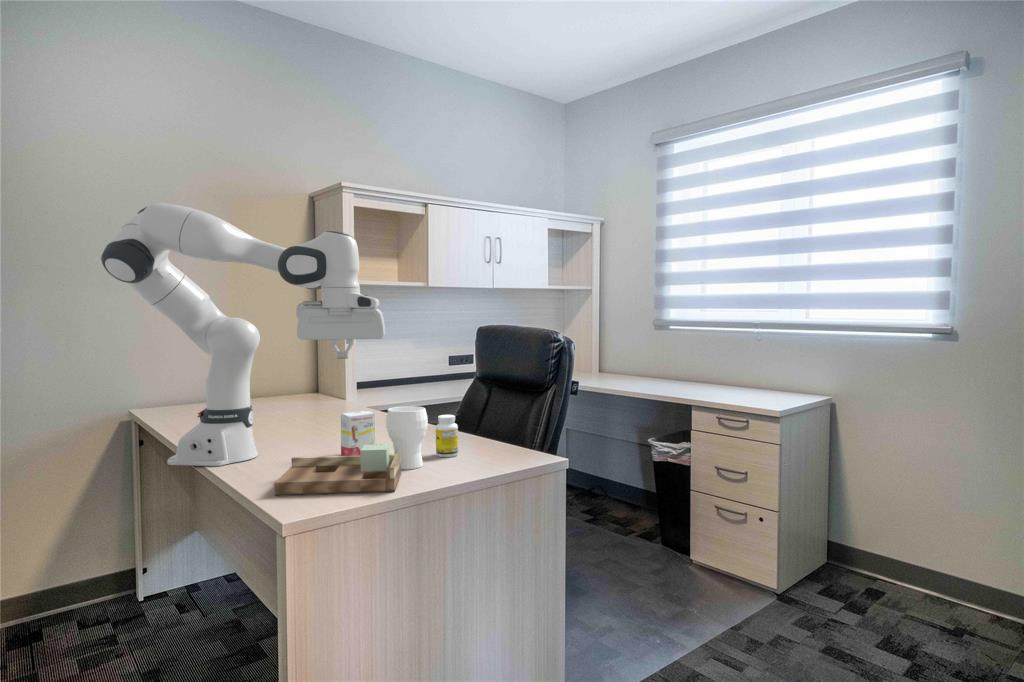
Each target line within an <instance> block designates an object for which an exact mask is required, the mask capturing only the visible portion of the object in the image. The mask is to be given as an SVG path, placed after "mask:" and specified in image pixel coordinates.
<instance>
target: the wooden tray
mask: <svg viewBox="0 0 1024 682" xmlns="http://www.w3.org/2000/svg"><path fill="white" fill-rule="evenodd" d="M389 463H390V464H389V467H388V469H387V471H363V472H361V459H360V455H359V456H342V455H335V456H333V455H332V456H301V457H299V456H293V457H291V467H290V468H289V469H287V471H285V472H284V473H283V474H282V475H281V476H280V477H279V478H278V479H276V481H275V482H274V484H273V485H274V496H275V497H284V496H285V497H287V496H289V497H291V496H292V497H293V496H319V495H346V494H347V495H349V494H353V495H354V494H374V493H375V494H380V493H395V492H396V489H397V487H398V483H399V481H400V478H401V475H402V469H401V454H400V453H396V454H394V453H393V454H389Z"/></svg>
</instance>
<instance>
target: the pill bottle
mask: <svg viewBox="0 0 1024 682" xmlns="http://www.w3.org/2000/svg"><path fill="white" fill-rule="evenodd" d="M437 418H438V419H437V420H438V423H437V424H436V426H435V452H436V453H435V454H436V456H437V457H440V458H454V457H456V456H458V454H459V426H458V424H457V423H455V421H456V416H455V415H454V414H441V415H438V417H437Z"/></svg>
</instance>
